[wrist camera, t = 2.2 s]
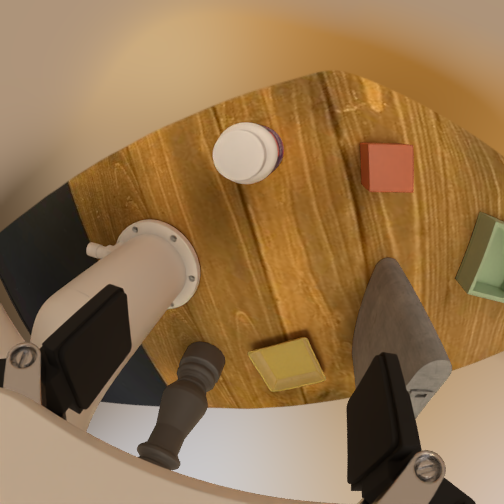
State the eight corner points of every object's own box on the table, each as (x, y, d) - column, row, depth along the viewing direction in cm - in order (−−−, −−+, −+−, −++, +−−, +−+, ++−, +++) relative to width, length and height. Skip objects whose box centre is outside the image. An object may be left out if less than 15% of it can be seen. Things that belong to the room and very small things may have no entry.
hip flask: (370, 360, 38) (385, 485, 19) (343, 358, 38) (347, 487, 20) (402, 259, 31) (470, 384, 13) (370, 255, 32) (419, 387, 14)
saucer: (248, 343, 40) (245, 353, 38) (307, 327, 37) (306, 337, 35) (273, 383, 42) (271, 392, 40) (326, 370, 40) (327, 380, 38)
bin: (454, 278, 31) (467, 294, 27) (479, 211, 27) (496, 221, 23) (499, 290, 30) (512, 304, 26) (522, 230, 26) (538, 241, 22)
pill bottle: (295, 149, 29) (289, 154, 20) (260, 184, 31) (240, 205, 23) (257, 114, 29) (235, 106, 20) (223, 151, 31) (189, 158, 22)
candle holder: (207, 336, 41) (131, 488, 18) (233, 364, 42) (177, 514, 20) (179, 348, 43) (102, 481, 20) (203, 375, 44) (143, 507, 22)
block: (361, 184, 29) (369, 192, 25) (359, 142, 28) (368, 143, 24) (400, 184, 28) (413, 192, 24) (399, 143, 27) (413, 145, 23)
